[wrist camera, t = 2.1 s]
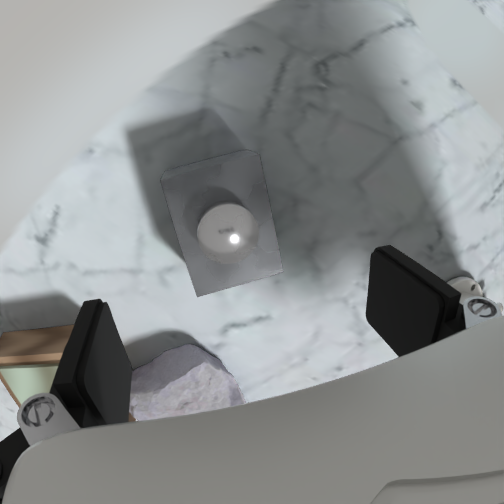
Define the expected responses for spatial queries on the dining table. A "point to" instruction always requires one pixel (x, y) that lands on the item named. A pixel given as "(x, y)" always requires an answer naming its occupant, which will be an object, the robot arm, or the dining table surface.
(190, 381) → the stone block
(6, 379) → the stand
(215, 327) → the dining table surface
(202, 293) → the housing
